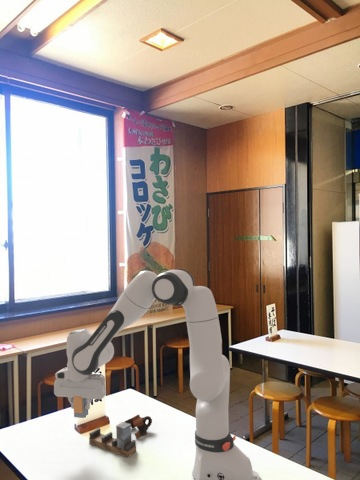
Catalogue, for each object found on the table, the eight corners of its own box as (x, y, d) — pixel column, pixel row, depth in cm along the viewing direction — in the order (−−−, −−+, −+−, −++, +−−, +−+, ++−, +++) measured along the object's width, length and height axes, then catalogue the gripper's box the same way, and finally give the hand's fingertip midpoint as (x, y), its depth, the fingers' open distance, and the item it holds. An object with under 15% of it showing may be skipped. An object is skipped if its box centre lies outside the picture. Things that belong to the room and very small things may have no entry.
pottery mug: (130, 443, 159) (122, 422, 162) (127, 443, 167) (119, 423, 170) (157, 428, 164) (149, 409, 166) (153, 429, 172) (145, 410, 175)
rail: (136, 451, 152) (135, 424, 152) (127, 457, 148) (126, 430, 148) (98, 437, 163) (97, 413, 163) (89, 443, 159) (88, 417, 159)
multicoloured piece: (83, 418, 149) (82, 397, 149) (73, 417, 150) (72, 396, 150) (88, 414, 153) (87, 393, 153) (78, 413, 154) (77, 392, 154)
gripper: (108, 370, 152) (109, 407, 152) (60, 368, 157) (61, 403, 157) (100, 376, 146) (102, 414, 146) (51, 373, 151) (52, 410, 151)
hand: (80, 408), depth 152 cm, fingers closed on multicoloured piece, 4 cm apart
